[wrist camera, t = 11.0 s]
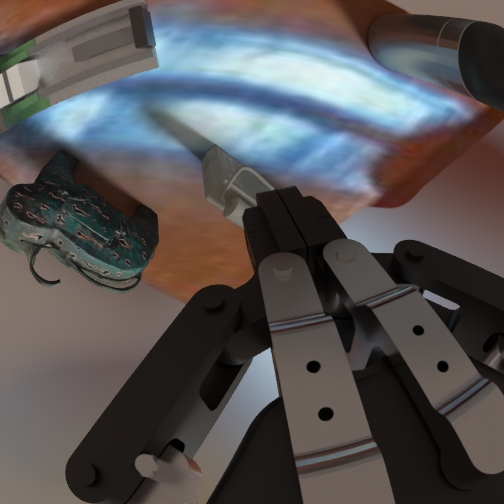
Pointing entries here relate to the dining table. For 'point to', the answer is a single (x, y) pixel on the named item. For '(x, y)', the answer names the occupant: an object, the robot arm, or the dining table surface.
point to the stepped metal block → (120, 36)
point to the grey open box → (66, 70)
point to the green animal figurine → (77, 227)
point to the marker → (19, 82)
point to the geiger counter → (231, 184)
